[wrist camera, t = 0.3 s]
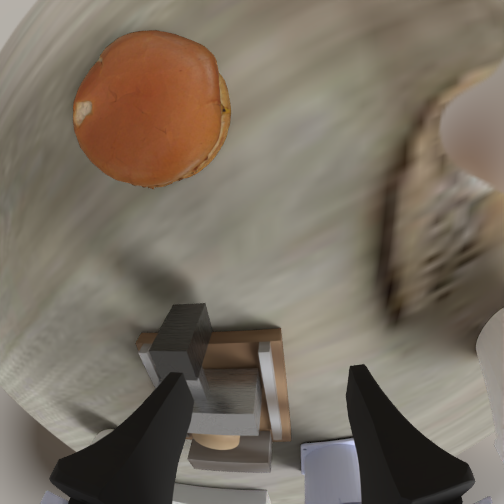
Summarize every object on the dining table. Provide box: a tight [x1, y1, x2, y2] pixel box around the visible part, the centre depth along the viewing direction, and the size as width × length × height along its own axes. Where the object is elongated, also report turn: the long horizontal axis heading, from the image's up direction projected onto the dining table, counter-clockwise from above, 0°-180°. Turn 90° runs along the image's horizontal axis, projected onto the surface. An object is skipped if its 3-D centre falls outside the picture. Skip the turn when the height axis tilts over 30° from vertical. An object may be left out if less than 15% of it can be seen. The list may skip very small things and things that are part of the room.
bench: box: [135, 328, 291, 473], centre depth 24 cm, size 15×12×6 cm
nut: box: [192, 433, 240, 450], centre depth 23 cm, size 4×4×4 cm
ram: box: [149, 303, 262, 436], centre depth 20 cm, size 9×8×5 cm
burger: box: [73, 30, 231, 189], centre depth 15 cm, size 10×9×5 cm
